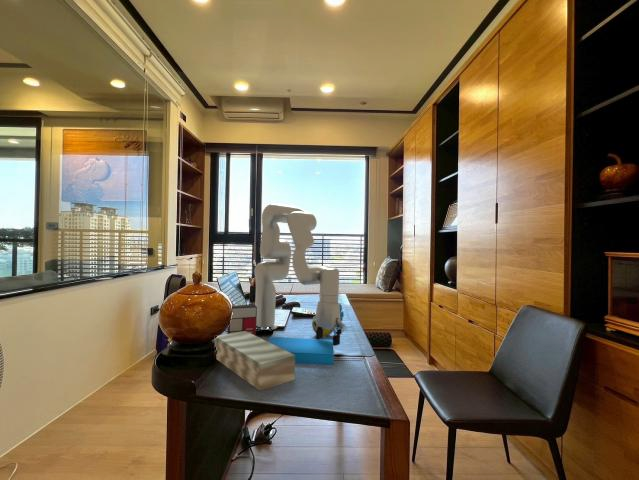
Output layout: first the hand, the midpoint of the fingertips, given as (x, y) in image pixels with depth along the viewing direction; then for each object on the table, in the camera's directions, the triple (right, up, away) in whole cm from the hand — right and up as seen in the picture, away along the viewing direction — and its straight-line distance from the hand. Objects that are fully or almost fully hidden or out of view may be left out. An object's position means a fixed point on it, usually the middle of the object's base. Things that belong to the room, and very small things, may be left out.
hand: (327, 341), depth 127 cm
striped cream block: (-26, -2, -22) cm, 34 cm away
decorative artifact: (-2, -3, +19) cm, 19 cm away
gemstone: (+5, -3, +36) cm, 36 cm away
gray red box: (-35, -1, +2) cm, 35 cm away
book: (-11, -3, -8) cm, 14 cm away
